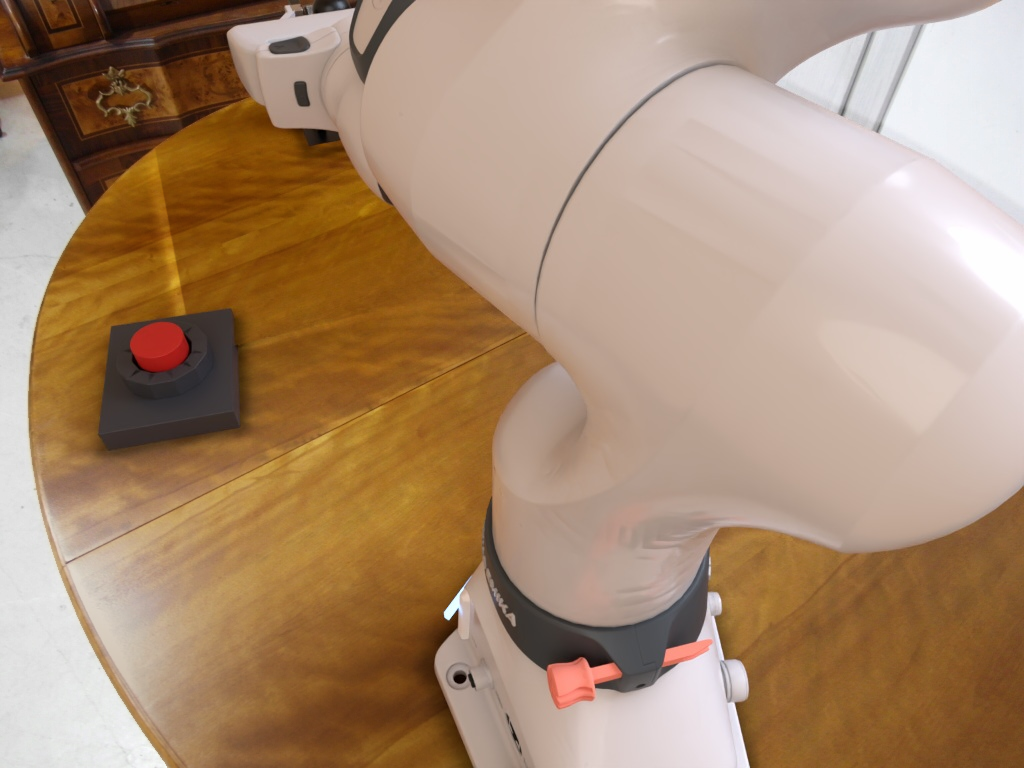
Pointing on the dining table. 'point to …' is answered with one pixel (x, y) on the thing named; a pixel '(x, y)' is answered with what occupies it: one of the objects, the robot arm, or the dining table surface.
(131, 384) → the button box
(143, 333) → the button
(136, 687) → the dining table surface
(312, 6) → the lever
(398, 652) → the dining table surface
